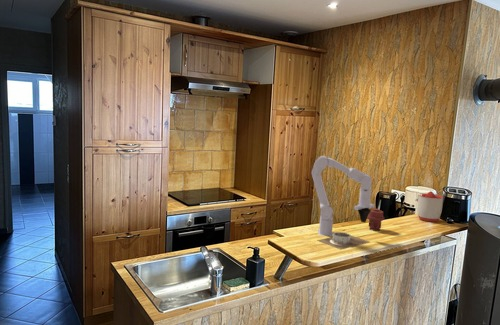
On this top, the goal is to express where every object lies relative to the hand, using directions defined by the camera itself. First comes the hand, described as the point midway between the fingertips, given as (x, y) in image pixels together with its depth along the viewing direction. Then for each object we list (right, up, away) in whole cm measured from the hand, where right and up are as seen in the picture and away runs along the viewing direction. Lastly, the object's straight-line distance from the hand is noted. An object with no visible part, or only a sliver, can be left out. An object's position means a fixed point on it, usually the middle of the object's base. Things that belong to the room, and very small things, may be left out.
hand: (363, 221), depth 201 cm
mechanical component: (+13, -8, +22) cm, 27 cm away
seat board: (-12, -10, -7) cm, 17 cm away
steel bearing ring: (-14, -9, -9) cm, 19 cm away
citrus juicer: (+59, -7, +52) cm, 79 cm away
